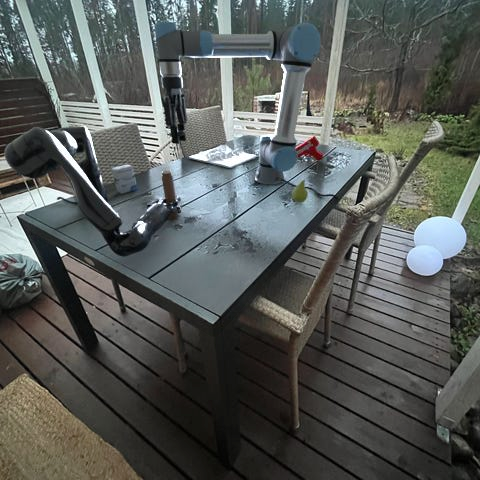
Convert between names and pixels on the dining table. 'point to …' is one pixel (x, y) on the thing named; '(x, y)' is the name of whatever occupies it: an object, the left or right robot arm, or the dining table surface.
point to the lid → (181, 132)
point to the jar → (169, 189)
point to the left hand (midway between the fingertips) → (173, 198)
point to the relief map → (223, 156)
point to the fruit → (300, 192)
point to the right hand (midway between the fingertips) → (179, 141)
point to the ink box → (124, 178)
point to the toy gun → (309, 149)
